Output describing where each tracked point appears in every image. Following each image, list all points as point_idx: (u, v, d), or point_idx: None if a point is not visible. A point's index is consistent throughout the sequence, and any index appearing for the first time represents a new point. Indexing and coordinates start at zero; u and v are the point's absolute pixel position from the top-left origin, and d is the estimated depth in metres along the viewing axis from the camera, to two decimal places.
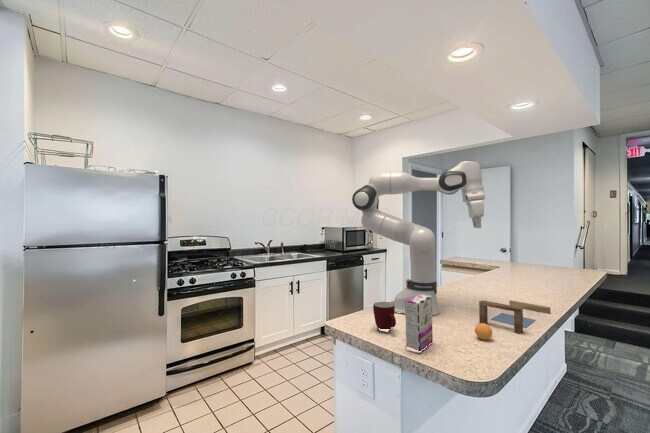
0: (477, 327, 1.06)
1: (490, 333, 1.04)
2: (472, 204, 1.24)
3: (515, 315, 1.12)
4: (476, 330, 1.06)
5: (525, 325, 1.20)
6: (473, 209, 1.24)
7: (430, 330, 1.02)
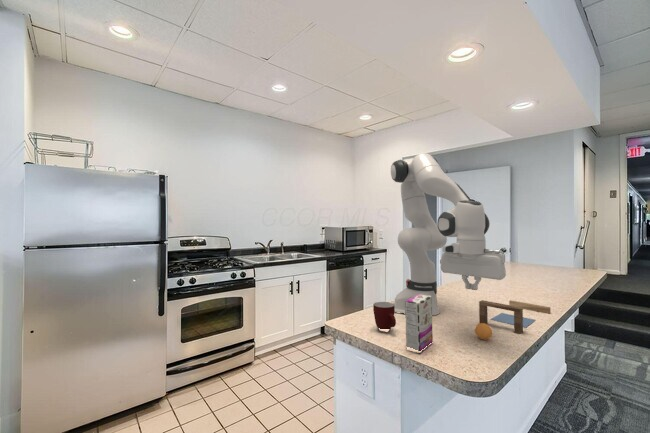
0: (477, 327, 1.06)
1: (490, 333, 1.04)
2: None
3: (515, 315, 1.12)
4: (476, 330, 1.06)
5: (525, 325, 1.20)
6: None
7: (430, 330, 1.02)
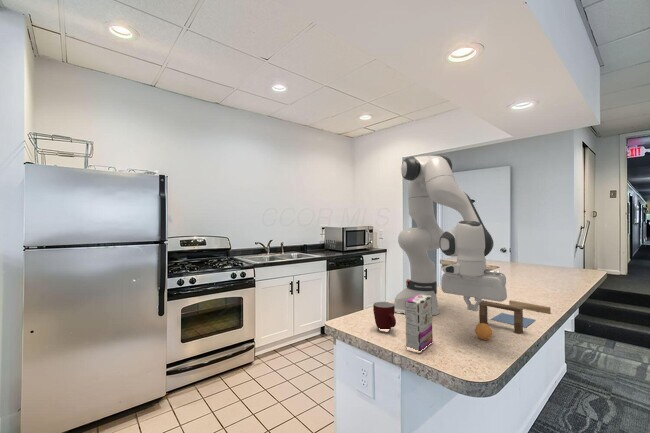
0: (477, 327, 1.06)
1: (490, 333, 1.04)
2: None
3: (515, 315, 1.12)
4: (476, 330, 1.06)
5: (525, 325, 1.20)
6: None
7: (430, 330, 1.02)
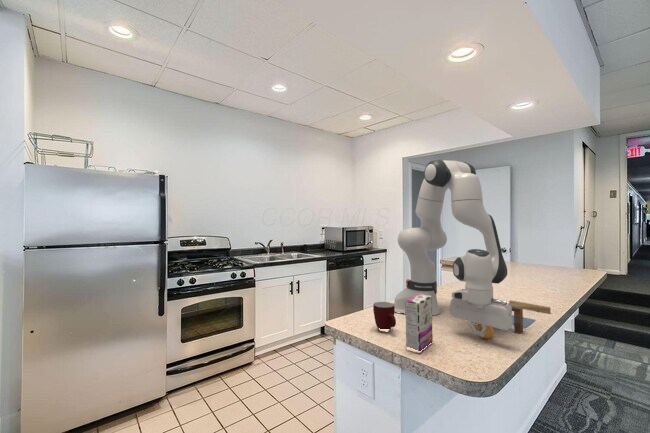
0: (479, 325, 1.07)
1: (492, 332, 1.05)
2: None
3: (515, 315, 1.12)
4: (478, 328, 1.07)
5: (525, 325, 1.20)
6: None
7: (430, 330, 1.02)
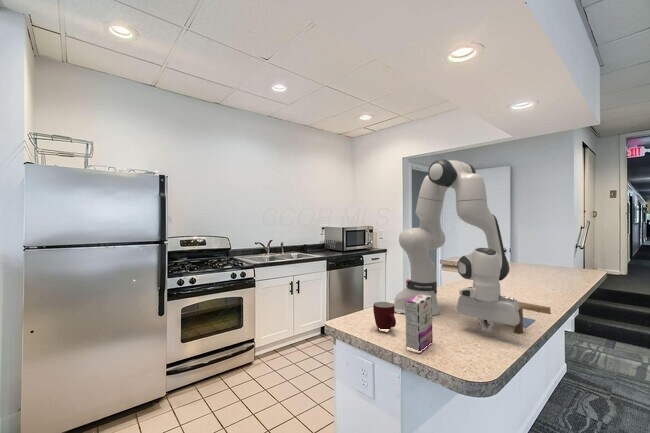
0: None
1: None
2: None
3: None
4: None
5: (525, 325, 1.20)
6: None
7: (430, 330, 1.02)
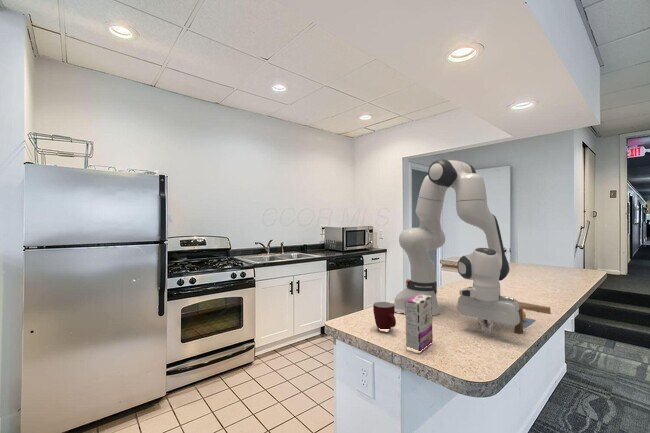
0: None
1: None
2: None
3: None
4: None
5: (525, 325, 1.20)
6: None
7: (430, 330, 1.02)
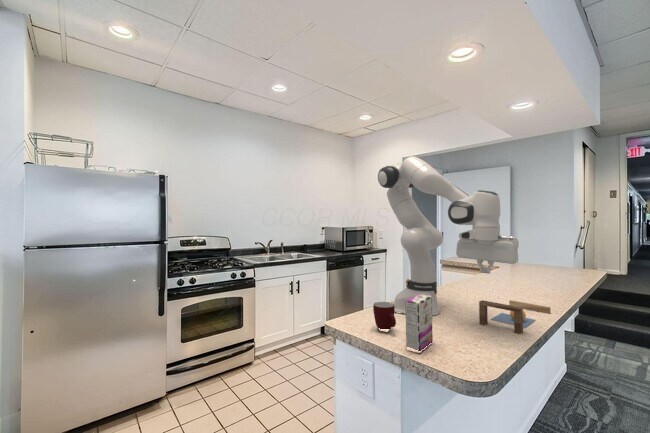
0: None
1: None
2: None
3: (515, 315, 1.12)
4: None
5: (525, 325, 1.20)
6: None
7: (430, 330, 1.02)
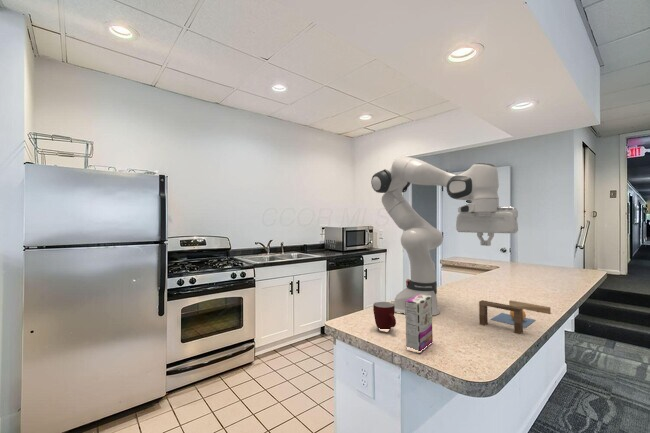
0: None
1: None
2: None
3: (515, 315, 1.12)
4: None
5: (525, 325, 1.20)
6: None
7: (430, 330, 1.02)
